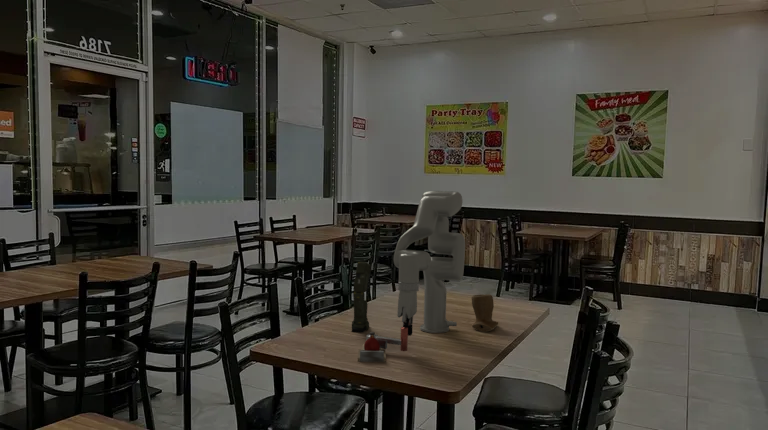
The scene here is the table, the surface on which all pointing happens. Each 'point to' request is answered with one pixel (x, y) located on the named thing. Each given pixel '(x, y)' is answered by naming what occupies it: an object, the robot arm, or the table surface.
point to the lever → (393, 340)
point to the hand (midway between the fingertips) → (407, 334)
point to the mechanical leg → (360, 298)
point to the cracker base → (371, 354)
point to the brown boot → (483, 312)
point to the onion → (372, 344)
